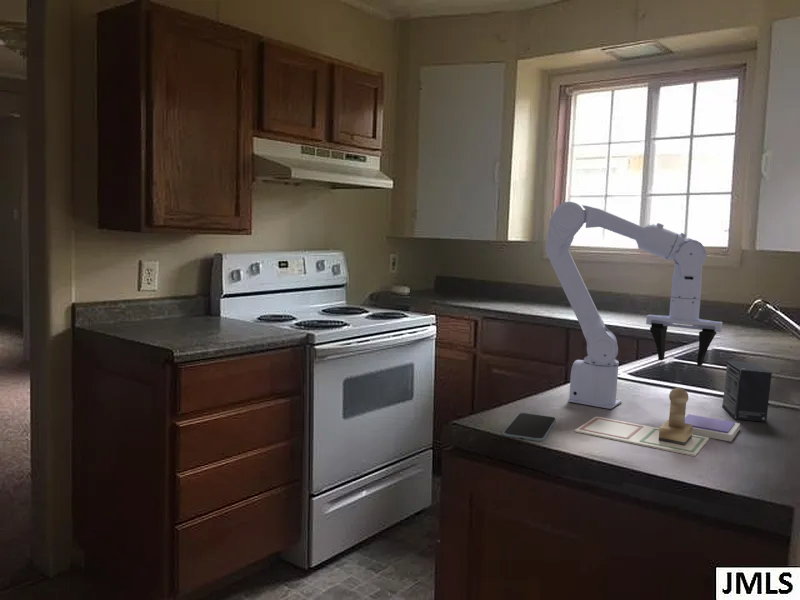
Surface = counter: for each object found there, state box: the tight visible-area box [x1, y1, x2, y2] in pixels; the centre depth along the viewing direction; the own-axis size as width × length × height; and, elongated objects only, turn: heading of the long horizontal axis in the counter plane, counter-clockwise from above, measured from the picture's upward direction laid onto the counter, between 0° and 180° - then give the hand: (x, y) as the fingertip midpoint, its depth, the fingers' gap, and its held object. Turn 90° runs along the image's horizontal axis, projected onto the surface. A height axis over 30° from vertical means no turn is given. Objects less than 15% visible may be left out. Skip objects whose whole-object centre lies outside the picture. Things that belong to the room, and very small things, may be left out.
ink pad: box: [685, 413, 741, 443], centre depth 131 cm, size 10×10×2 cm
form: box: [574, 416, 710, 457], centre depth 127 cm, size 21×12×1 cm, turn 56°
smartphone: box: [502, 412, 557, 442], centre depth 129 cm, size 7×1×15 cm
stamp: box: [658, 387, 693, 446], centre depth 124 cm, size 4×6×9 cm
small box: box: [721, 360, 773, 423], centre depth 144 cm, size 11×6×10 cm, turn 168°
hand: (680, 362), depth 144 cm, fingers open, 7 cm apart
